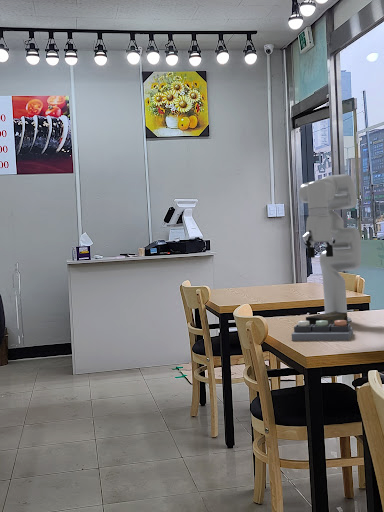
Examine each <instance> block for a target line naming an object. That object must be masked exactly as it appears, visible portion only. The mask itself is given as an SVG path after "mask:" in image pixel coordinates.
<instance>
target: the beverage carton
mask: <svg viewBox="0 0 384 512" xmlns="http://www.w3.org/2000/svg"><path fill="white" fill-rule="evenodd" d="M347 317H348V312H347V313H342V312H337V311H333V312H330V313H325V312H324V313H321V314H316V315H315V314H314V315H310V316H309V315H308V316H305V321H309V324H314V325H315V324H316V321H320V320H326V321H328V324H332V325H333V324H335V321H336V320H346V321H347V324H349V322H348V319H347Z"/></svg>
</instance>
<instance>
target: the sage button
mask: <svg viewBox="0 0 384 512" xmlns="http://www.w3.org/2000/svg"><path fill="white" fill-rule="evenodd" d="M324 326H328V321H326V320H320V321H316V327H324Z"/></svg>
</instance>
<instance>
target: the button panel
mask: <svg viewBox="0 0 384 512" xmlns="http://www.w3.org/2000/svg"><path fill="white" fill-rule="evenodd" d="M353 334H354V330H353V327H352V326H351V323H348V324H347V326H335V324H333V325H332V324H328V326H324V327H316V324H315V325H314V324H310V327H298V323H297V324H296V325H294V327H293V332H292V333H291V341H301V342H302V341H349V340H350V339H351V338H352V336H353Z"/></svg>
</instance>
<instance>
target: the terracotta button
mask: <svg viewBox="0 0 384 512" xmlns="http://www.w3.org/2000/svg"><path fill="white" fill-rule="evenodd" d="M335 326H347V321H346V320H336V321H335Z"/></svg>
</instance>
